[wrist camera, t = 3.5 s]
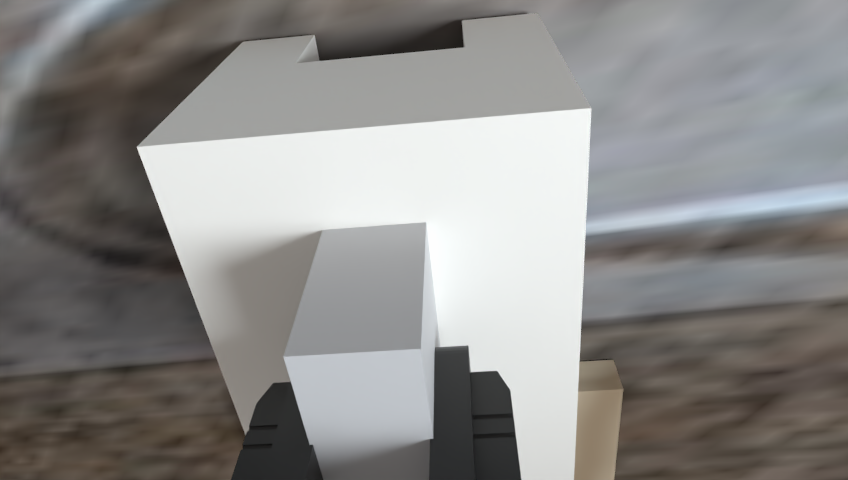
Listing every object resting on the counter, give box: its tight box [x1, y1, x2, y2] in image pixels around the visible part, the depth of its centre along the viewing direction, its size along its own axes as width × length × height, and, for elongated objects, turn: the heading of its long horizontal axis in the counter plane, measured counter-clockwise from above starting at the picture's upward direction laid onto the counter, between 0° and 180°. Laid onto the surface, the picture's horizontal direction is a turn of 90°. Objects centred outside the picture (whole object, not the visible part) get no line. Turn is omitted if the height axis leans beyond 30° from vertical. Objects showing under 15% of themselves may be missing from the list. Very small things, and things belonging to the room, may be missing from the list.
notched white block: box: [137, 13, 591, 480], centre depth 15 cm, size 8×10×10 cm
